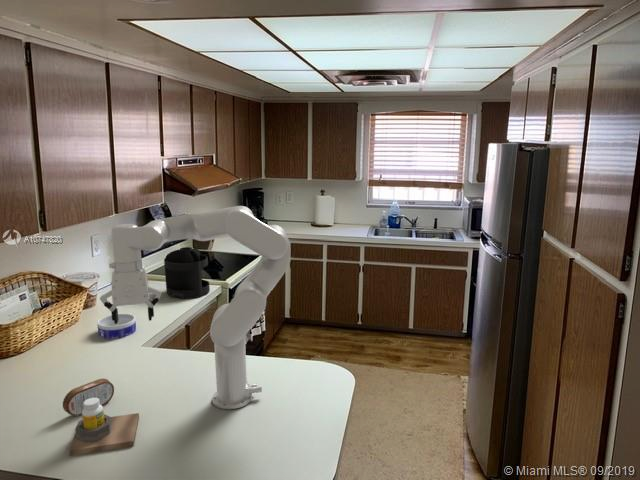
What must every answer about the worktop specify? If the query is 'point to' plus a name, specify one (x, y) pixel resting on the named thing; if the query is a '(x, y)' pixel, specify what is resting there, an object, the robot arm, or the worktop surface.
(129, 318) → the dog bowl
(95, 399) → the supplement bottle
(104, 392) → the tin
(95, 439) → the holder board
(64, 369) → the worktop surface
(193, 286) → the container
